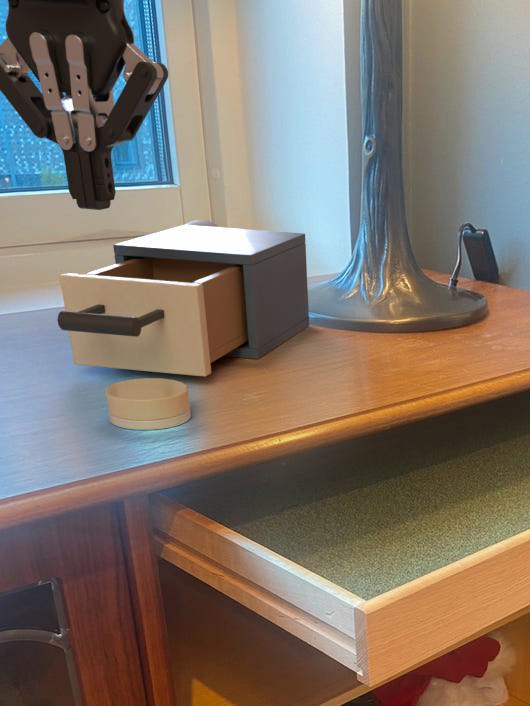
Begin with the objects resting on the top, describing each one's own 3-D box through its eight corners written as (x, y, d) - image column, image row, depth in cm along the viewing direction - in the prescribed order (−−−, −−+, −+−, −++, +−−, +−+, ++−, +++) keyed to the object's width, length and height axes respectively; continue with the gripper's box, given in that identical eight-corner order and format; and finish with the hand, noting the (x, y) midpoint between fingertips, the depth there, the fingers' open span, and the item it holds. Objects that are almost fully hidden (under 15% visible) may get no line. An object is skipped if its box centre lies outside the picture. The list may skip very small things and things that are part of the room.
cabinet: (258, 359, 87) (251, 255, 82) (127, 347, 88) (112, 244, 84) (309, 325, 99) (305, 233, 95) (193, 315, 101) (184, 224, 97)
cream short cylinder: (94, 425, 69) (89, 395, 68) (132, 403, 74) (128, 374, 73) (170, 433, 68) (166, 403, 67) (203, 410, 73) (200, 381, 72)
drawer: (175, 396, 73) (164, 299, 69) (35, 382, 74) (17, 287, 71) (264, 340, 89) (259, 260, 86) (148, 329, 91) (139, 250, 87)
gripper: (177, -76, 63) (202, 209, 72) (-8, -84, 65) (38, 196, 74) (122, -95, 57) (156, 221, 66) (-82, -103, 58) (-22, 206, 67)
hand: (94, 207), depth 69 cm, fingers closed
